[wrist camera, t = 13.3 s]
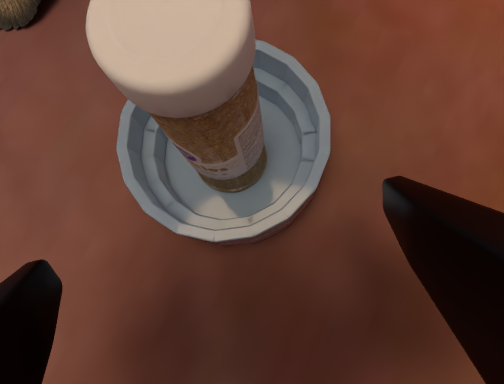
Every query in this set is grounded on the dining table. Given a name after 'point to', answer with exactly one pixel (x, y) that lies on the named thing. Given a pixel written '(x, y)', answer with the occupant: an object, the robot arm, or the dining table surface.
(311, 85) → the bowl
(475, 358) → the robot arm
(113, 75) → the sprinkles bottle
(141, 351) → the dining table surface
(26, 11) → the eagle figurine
